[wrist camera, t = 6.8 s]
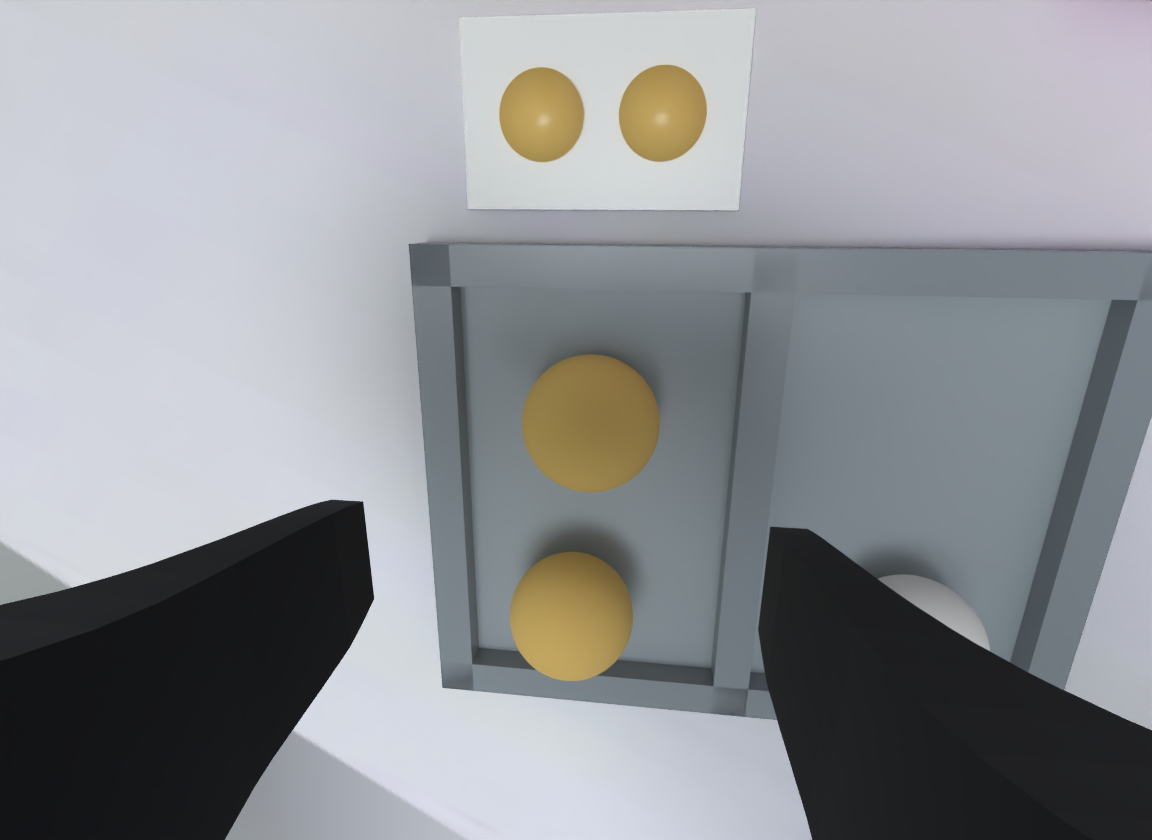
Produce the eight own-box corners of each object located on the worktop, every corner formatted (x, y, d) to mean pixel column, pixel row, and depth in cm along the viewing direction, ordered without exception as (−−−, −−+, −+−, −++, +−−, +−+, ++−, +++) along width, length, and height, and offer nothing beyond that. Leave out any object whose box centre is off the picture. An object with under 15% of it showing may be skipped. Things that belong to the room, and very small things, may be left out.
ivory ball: (938, 657, 21) (1002, 753, 17) (817, 647, 21) (853, 739, 17) (962, 554, 19) (1037, 634, 16) (833, 546, 20) (876, 621, 16)
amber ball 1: (655, 464, 20) (658, 520, 16) (535, 459, 20) (510, 512, 16) (661, 344, 19) (666, 374, 15) (533, 341, 19) (506, 369, 15)
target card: (737, 210, 18) (739, 210, 17) (470, 209, 18) (465, 209, 18) (753, 12, 16) (757, 5, 16) (462, 21, 17) (456, 15, 16)
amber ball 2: (632, 631, 22) (628, 716, 18) (524, 623, 22) (498, 704, 19) (636, 533, 21) (633, 603, 17) (522, 526, 21) (494, 592, 17)
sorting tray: (1022, 713, 22) (1046, 745, 20) (454, 661, 24) (442, 687, 23) (1159, 250, 17) (1203, 253, 15) (425, 242, 19) (408, 244, 18)
